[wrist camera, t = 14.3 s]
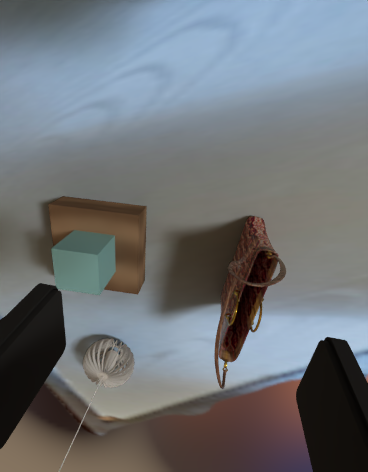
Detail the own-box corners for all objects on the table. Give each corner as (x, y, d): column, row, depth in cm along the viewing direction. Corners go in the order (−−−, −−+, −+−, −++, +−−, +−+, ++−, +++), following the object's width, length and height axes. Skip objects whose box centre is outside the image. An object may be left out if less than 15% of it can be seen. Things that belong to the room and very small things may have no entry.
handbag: (280, 188, 39) (358, 299, 16) (235, 307, 47) (244, 488, 25) (229, 175, 39) (233, 266, 16) (193, 296, 48) (164, 465, 25)
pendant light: (125, 374, 58) (35, 611, 30) (84, 352, 57) (-46, 577, 29) (146, 347, 54) (66, 590, 27) (103, 323, 53) (-26, 550, 26)
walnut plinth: (63, 196, 43) (48, 204, 40) (146, 206, 42) (139, 215, 39) (70, 269, 49) (58, 282, 45) (144, 280, 48) (137, 294, 44)
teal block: (74, 230, 41) (51, 248, 35) (114, 235, 40) (97, 255, 35) (77, 266, 43) (56, 288, 38) (115, 271, 43) (99, 295, 37)
